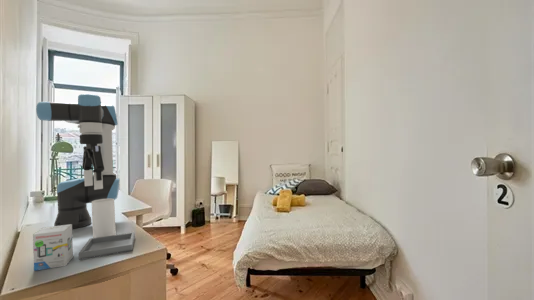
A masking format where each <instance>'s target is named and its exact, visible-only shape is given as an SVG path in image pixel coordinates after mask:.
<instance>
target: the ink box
mask: <svg viewBox="0 0 534 300" xmlns="http://www.w3.org/2000/svg"><path fill="white" fill-rule="evenodd" d="M32 241H33V242H32V245H33V247H32V249H33V271H42V270H47V269H53V268H59V267H60V268H61V267H65V266H68V264H69V263H70V262H71V260H72V258H73V257H74V249H73V248H74V247H73V245H74V244H73V229H72V224H69V225H61V226H54V225H53V226H47V227H45V226H44V227H42V228H40V229H39V230H38V231H36V232H34V234H32Z"/></svg>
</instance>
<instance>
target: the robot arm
mask: <svg viewBox="0 0 534 300" xmlns="http://www.w3.org/2000/svg"><path fill="white" fill-rule="evenodd" d="M101 99H102V98H101V96H100V95H97V94H91V93H81V94H79V95H78V96H77V102H60V101H57V102H56V101H39V102H37V103H36V115H37V118H38V120H39V121H45V122H46V121H48V122H52V121H53V122H61V121H62V122H66V123H69V124H75V125H77V129H78V128H79V134H80V135H79V143H80V144H81V145H86V146H83V156H82V166H81V168H82V169H83V175H84V177H81V178H75V179H70V180H65V181H61V182H59V183H58V184H57V186H56V187H57V188H56V195H57V197H56V198H57V215H56V218H55V221H54V222H53V223H54V224H53V226H61V225H69V224H72V230H73V229H79V228H84V227H86V226H88V225H91V224H92V216H91V214H90V213H89V211H88V206H87V205H88V204H92V201H94V200H99V199H108V198H112V199H114V201H115V200H117V198H118V196H119V191H120V178H118V177H117V175H116V174H115V172H114V163H113V162H114V159H113V155H114V154H113V131H114V130H115V128H116V126H118V125H119V124H118V118H117V113H116V112H117V111H116V108H115V106H114V105H113V104H106V103H102V101H101Z"/></svg>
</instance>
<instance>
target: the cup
mask: <svg viewBox="0 0 534 300" xmlns="http://www.w3.org/2000/svg"><path fill="white" fill-rule="evenodd" d="M115 206H116V205H115V200H114V199H112V198H108V199H99V200H94V201H92V203H91V224H92V238H97V237H104V236H111V235H117V234H116V233H117V232H116V210H115Z"/></svg>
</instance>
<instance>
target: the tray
mask: <svg viewBox="0 0 534 300" xmlns="http://www.w3.org/2000/svg"><path fill="white" fill-rule="evenodd" d="M135 239H136V232H135V231H132V232H126V233H120V234H119V233H118V234H116V235H111V236H104V237H97V238H93V237H92V238H91V237H90V238H89V239H88V240H87V241H86V243H85V244H84V245H83V247H82V248H81V250H79V252H78V260H79V261H83V260H88V259H93V258H99V256H100V257H105V256H110V255H116V254H122V253H123V254H125V253H128V252H133V249H134V244H135Z"/></svg>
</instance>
